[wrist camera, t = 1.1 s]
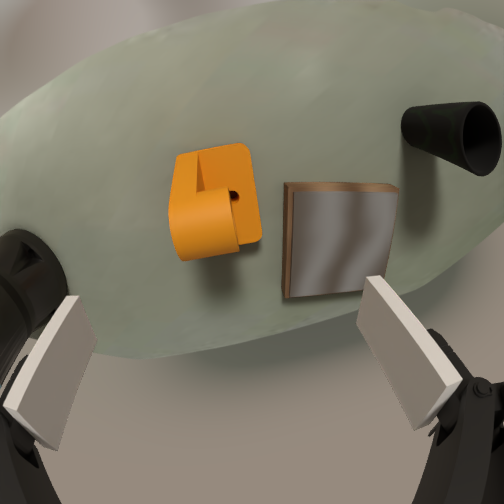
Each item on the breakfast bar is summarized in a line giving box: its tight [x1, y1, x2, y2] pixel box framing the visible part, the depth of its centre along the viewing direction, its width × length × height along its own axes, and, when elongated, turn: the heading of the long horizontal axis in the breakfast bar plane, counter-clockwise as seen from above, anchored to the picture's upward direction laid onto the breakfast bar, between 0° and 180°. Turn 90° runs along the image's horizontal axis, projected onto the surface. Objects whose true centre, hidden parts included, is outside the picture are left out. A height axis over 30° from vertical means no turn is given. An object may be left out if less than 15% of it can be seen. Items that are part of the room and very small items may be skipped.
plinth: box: [281, 182, 399, 298], centre depth 34 cm, size 14×14×3 cm
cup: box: [401, 102, 502, 176], centre depth 24 cm, size 8×8×12 cm
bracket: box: [169, 143, 262, 261], centre depth 26 cm, size 11×7×12 cm, turn 9°
